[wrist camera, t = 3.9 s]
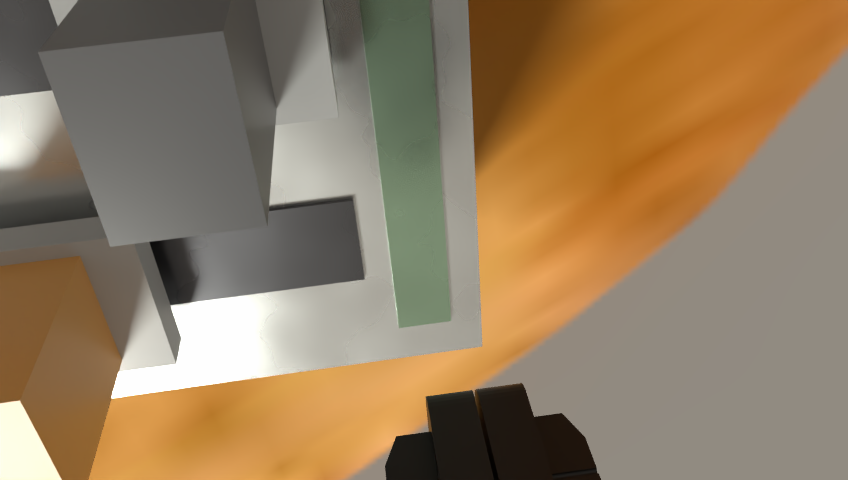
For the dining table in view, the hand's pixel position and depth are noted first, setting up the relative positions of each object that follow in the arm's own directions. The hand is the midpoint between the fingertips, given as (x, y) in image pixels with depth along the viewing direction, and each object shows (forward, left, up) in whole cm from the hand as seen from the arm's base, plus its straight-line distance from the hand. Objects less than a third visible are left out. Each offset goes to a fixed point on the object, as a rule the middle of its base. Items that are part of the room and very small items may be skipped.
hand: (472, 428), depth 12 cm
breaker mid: (-5, -4, -5) cm, 8 cm away
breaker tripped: (0, -7, -5) cm, 9 cm away
